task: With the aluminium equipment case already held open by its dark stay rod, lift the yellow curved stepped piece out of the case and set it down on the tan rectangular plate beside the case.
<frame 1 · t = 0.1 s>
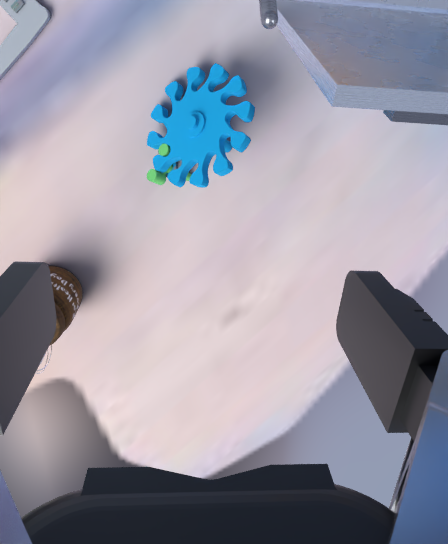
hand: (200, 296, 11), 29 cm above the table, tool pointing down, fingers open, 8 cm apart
lid: (436, 53, 24), point 13 cm above the table, hinge at 105.0°
gear: (193, 126, 37), on the table
utensil holder: (54, 287, 43), on the table
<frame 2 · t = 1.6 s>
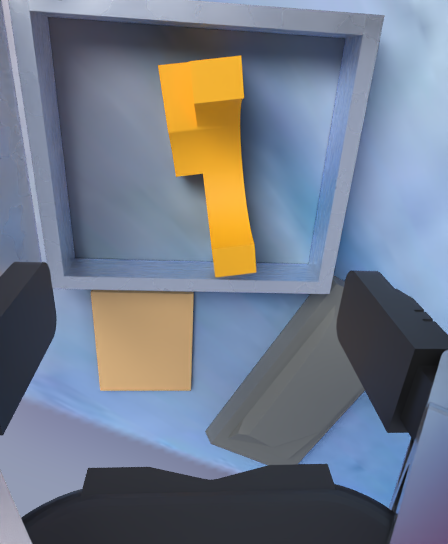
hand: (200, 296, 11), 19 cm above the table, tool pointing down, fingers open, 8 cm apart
case: (197, 158, 28), on the table
tan rectangular plate: (144, 342, 35), on the table
yellow curved stepped piece: (207, 157, 29), resting in case
grey bevelled block: (303, 374, 39), on the table
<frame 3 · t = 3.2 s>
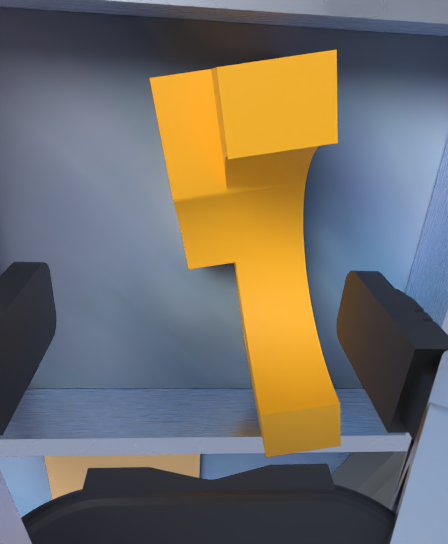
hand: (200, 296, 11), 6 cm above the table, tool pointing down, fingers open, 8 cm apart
case: (207, 241, 17), on the table
tan rectangular plate: (128, 494, 23), on the table
yellow curved stepped piece: (238, 225, 17), resting in case, touching gripper
grey bevelled block: (356, 519, 27), on the table
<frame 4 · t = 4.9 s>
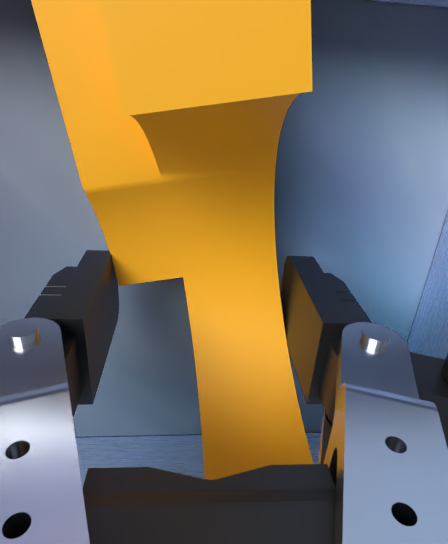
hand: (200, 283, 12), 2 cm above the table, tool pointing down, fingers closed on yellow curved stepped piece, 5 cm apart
case: (174, 265, 14), on the table
yellow curved stepped piece: (195, 226, 13), resting in case, touching gripper
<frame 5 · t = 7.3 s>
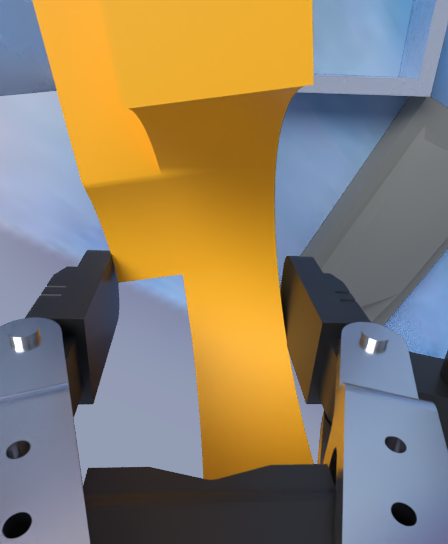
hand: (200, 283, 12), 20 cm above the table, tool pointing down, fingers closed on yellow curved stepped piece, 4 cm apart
yellow curved stepped piece: (194, 223, 13), point 18 cm above the table, touching gripper
grey bevelled block: (376, 234, 34), on the table
when the fingers open (4 cm above the table, at t = 10.0 s): yellow curved stepped piece stays where it is, resting on case, tan rectangular plate.
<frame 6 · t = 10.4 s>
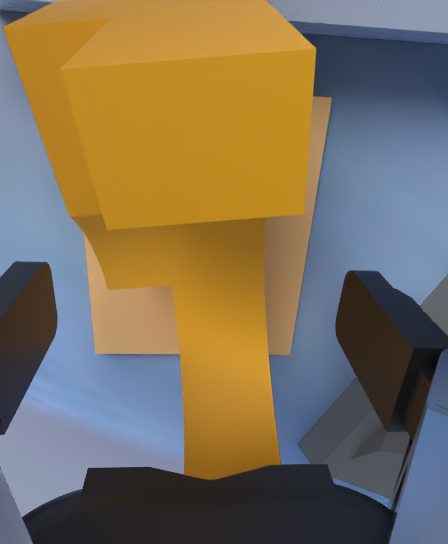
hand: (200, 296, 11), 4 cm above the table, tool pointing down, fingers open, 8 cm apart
tan rectangular plate: (198, 237, 15), on the table
yellow curved stepped piece: (186, 218, 13), point 2 cm above the table, touching case, tan rectangular plate
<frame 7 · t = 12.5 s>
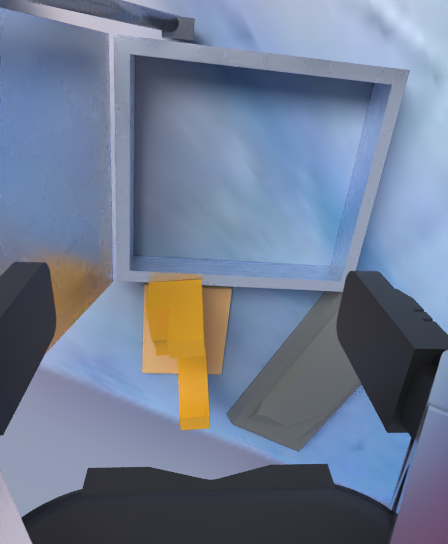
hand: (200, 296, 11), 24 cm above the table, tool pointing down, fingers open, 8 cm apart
case: (245, 175, 34), on the table
tan rectangular plate: (185, 330, 40), on the table
stay rod: (131, 22, 28), resting on case
lid: (15, 211, 21), point 13 cm above the table, hinge at 105.0°
yellow curved stepped piece: (181, 328, 38), point 2 cm above the table, touching case, tan rectangular plate
grey bevelled block: (313, 363, 44), on the table
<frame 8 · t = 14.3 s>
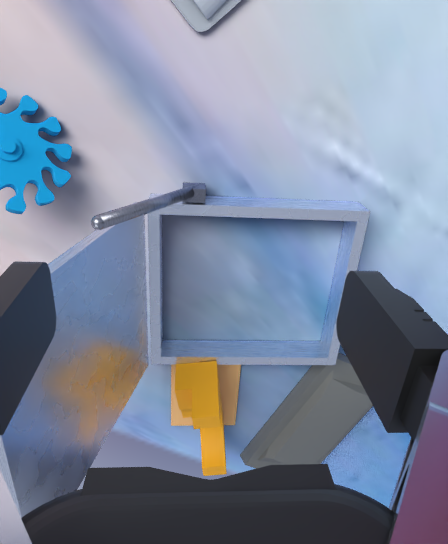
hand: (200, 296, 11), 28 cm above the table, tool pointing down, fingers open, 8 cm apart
case: (248, 279, 43), on the table
tan rectangular plate: (204, 392, 50), on the table
stay rod: (159, 183, 38), resting on case
lid: (89, 353, 31), point 13 cm above the table, hinge at 105.0°
gear: (19, 137, 36), on the table
yellow curved stepped piece: (201, 393, 48), point 2 cm above the table, touching case, tan rectangular plate
grey bevelled block: (310, 413, 53), on the table
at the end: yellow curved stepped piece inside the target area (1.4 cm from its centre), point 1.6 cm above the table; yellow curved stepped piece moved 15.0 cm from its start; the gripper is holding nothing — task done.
